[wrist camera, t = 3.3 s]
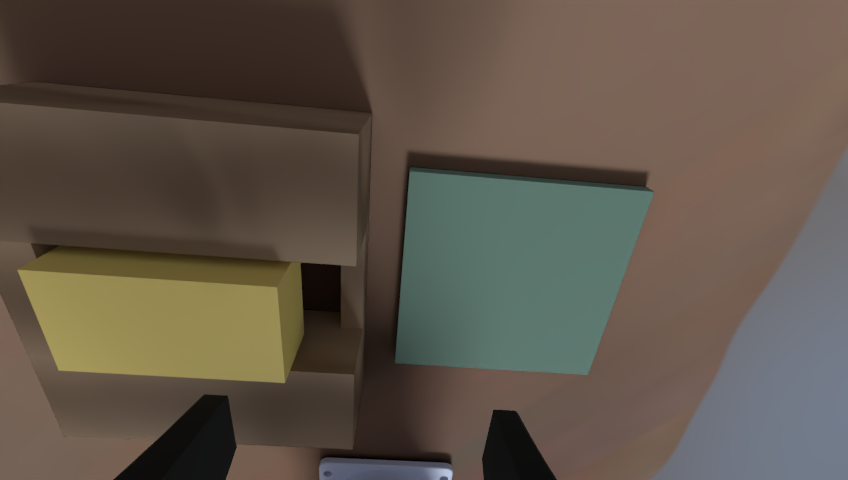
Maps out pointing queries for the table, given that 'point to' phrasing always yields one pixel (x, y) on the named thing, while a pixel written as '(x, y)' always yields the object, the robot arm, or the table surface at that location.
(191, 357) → the slab
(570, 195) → the mat
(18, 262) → the pocket board
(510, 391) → the table surface
